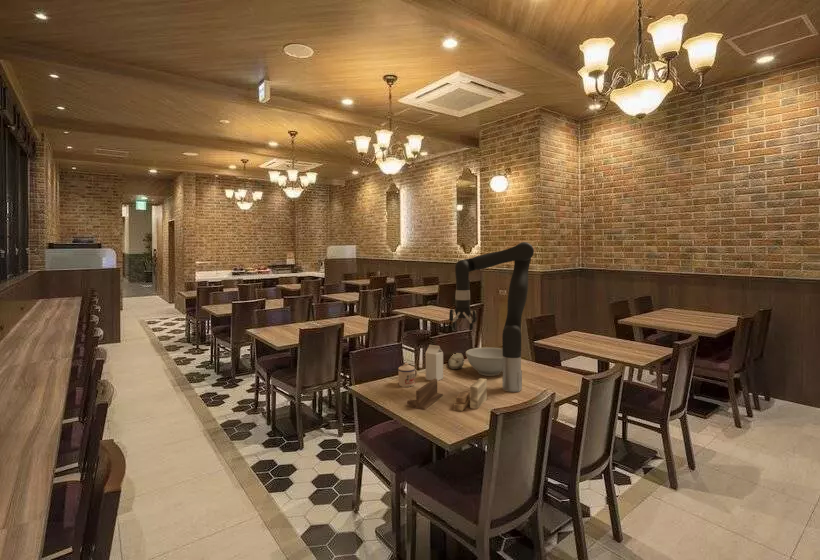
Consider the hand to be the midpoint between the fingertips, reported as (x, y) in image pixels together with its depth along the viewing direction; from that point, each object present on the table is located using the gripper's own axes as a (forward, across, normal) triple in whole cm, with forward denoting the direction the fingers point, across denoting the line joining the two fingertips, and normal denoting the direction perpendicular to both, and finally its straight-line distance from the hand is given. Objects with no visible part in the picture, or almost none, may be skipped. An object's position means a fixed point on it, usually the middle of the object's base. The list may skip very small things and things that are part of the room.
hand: (462, 329), depth 227 cm
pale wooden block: (+30, -15, +21) cm, 40 cm away
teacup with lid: (+30, +28, +8) cm, 42 cm away
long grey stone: (+31, +20, -44) cm, 57 cm away
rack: (+30, +9, +28) cm, 42 cm away
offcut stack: (+30, -10, +28) cm, 42 cm away
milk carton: (+30, +19, -6) cm, 36 cm away
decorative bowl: (+30, -5, -30) cm, 43 cm away
